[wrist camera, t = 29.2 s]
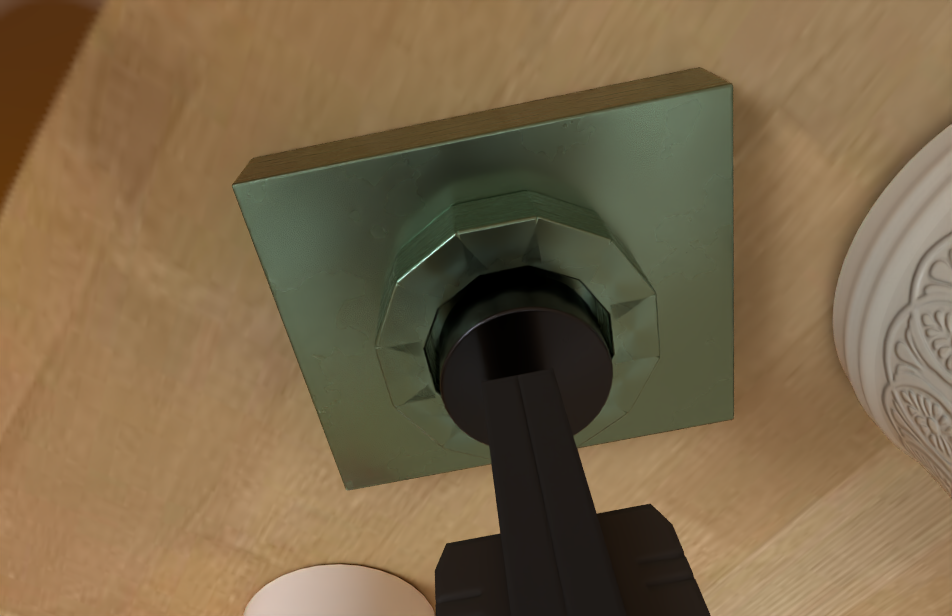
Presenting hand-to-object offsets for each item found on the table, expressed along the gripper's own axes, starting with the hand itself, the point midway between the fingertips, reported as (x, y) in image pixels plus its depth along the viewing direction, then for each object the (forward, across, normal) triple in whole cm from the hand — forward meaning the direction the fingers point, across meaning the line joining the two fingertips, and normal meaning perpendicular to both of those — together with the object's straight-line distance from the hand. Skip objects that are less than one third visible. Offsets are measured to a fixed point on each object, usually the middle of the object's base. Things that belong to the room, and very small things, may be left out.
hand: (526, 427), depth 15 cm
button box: (+7, 0, 0) cm, 7 cm away
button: (+3, 0, 0) cm, 3 cm away
